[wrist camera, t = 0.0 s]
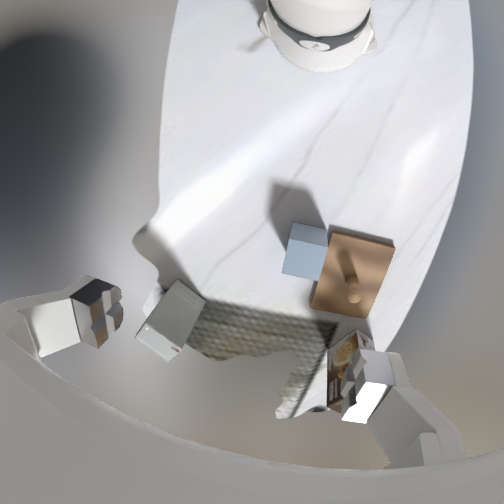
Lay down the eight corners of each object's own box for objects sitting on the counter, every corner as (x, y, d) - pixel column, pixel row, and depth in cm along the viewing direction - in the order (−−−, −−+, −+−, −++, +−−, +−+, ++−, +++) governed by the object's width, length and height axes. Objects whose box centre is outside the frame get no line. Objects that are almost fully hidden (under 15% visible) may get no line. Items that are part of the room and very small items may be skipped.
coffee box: (345, 361, 59) (346, 417, 45) (326, 349, 58) (324, 407, 44) (374, 340, 54) (383, 398, 40) (356, 326, 54) (362, 386, 40)
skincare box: (165, 293, 61) (130, 338, 47) (179, 275, 57) (142, 321, 43) (194, 316, 62) (165, 365, 48) (210, 300, 58) (181, 351, 45)
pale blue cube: (292, 221, 47) (288, 238, 40) (326, 229, 46) (328, 247, 40) (286, 252, 50) (281, 273, 43) (318, 259, 49) (318, 281, 42)
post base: (332, 230, 46) (334, 246, 40) (393, 245, 45) (403, 263, 39) (310, 304, 53) (308, 325, 48) (365, 315, 52) (369, 337, 46)
